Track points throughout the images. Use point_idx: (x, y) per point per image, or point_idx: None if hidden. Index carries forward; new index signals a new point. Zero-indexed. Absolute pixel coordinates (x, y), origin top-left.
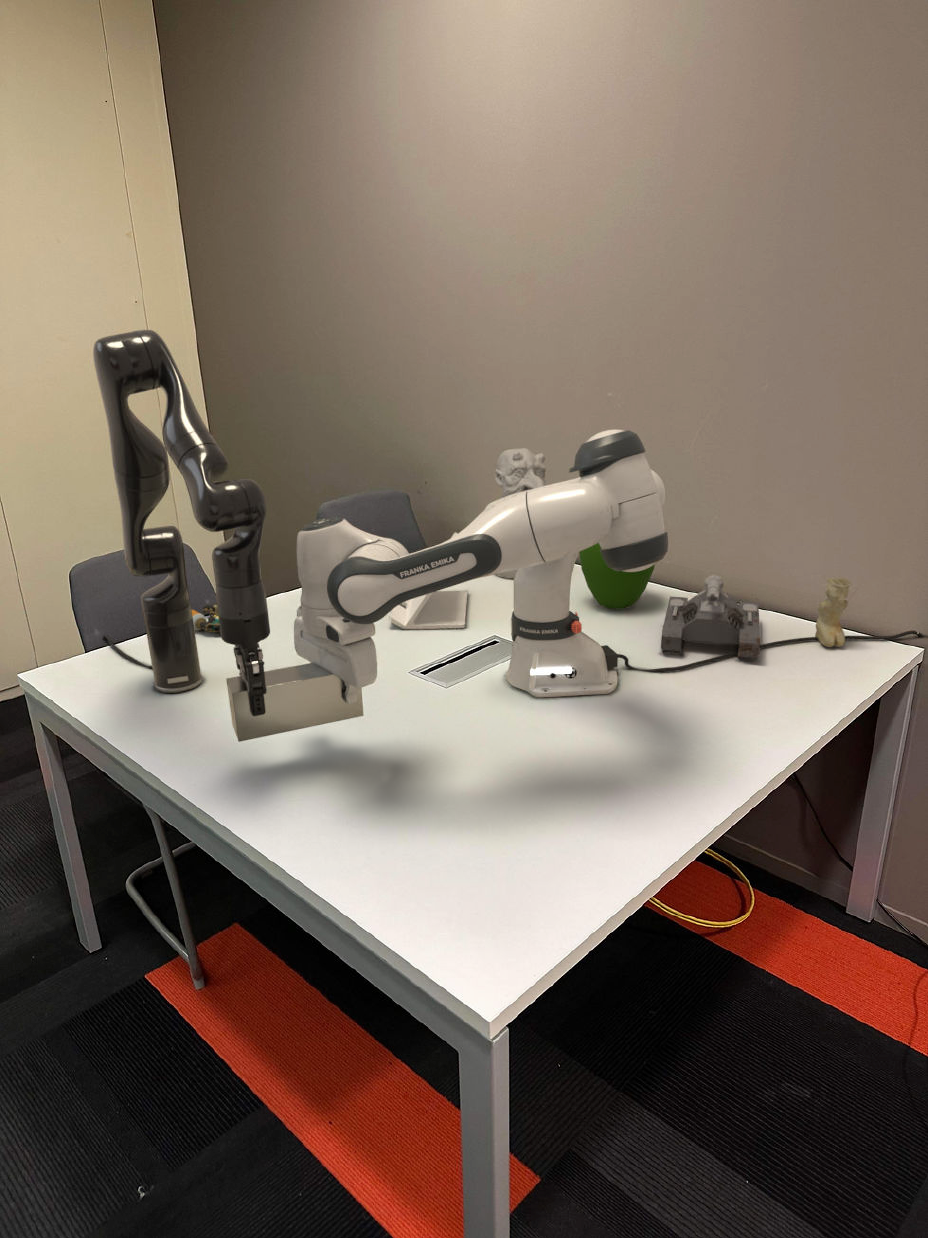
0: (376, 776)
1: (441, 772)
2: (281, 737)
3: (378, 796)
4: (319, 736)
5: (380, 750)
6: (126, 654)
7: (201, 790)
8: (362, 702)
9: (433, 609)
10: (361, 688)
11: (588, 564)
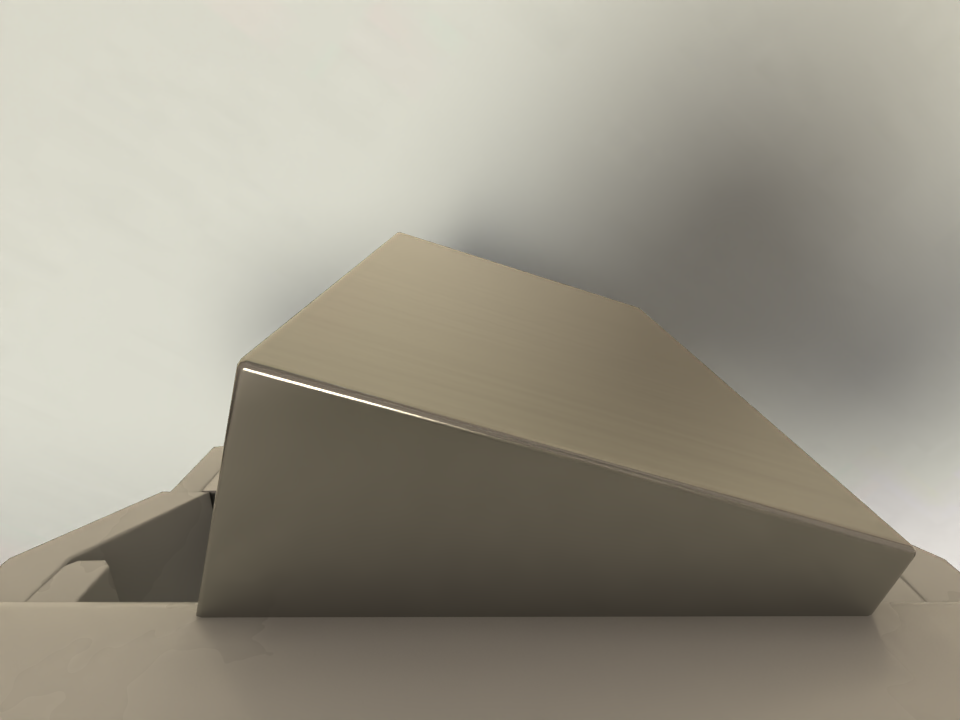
0: (720, 307)
1: (943, 66)
2: (181, 415)
3: (830, 381)
4: (265, 298)
5: (564, 162)
6: None
7: None
8: (675, 340)
9: None
10: (734, 391)
11: None
